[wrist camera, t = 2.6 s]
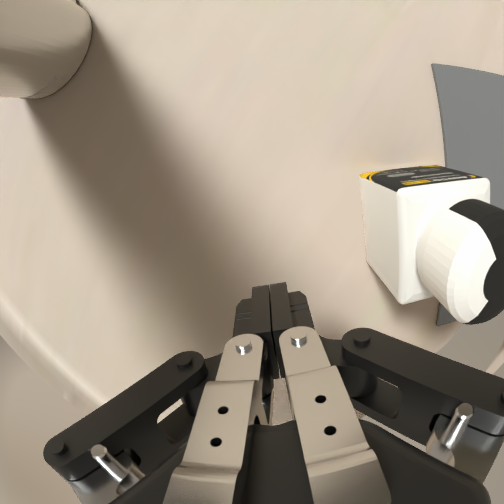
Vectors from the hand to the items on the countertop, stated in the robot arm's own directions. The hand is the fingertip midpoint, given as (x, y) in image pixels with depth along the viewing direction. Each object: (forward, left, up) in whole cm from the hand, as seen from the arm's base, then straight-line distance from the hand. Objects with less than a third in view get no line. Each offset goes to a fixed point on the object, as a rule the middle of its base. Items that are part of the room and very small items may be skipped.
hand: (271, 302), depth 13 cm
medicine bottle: (0, +11, -10) cm, 15 cm away
